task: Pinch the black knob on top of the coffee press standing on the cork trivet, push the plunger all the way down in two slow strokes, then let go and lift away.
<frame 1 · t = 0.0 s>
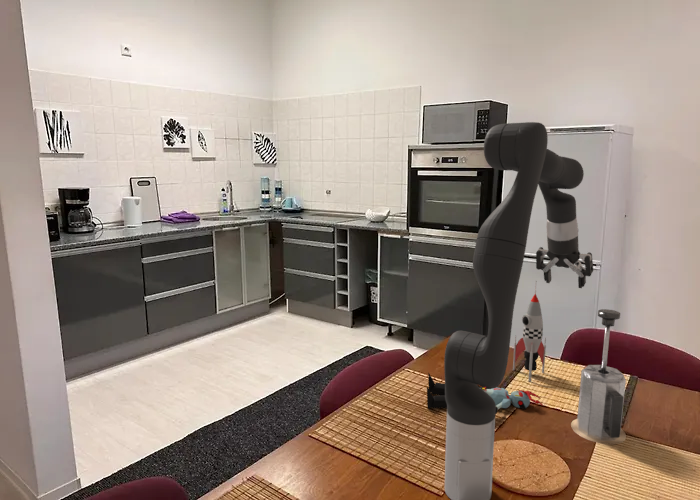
hand: (564, 284, 136), 31 cm above the table, tool tilted 20°, fingers open, 8 cm apart
toy: (482, 405, 134), on the table
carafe: (597, 430, 120), resting on trivet
plunger: (605, 349, 116), point 21 cm above the table, slide at 0.0 cm
trivet: (597, 432, 120), on the table
toy 2: (531, 374, 152), on the table
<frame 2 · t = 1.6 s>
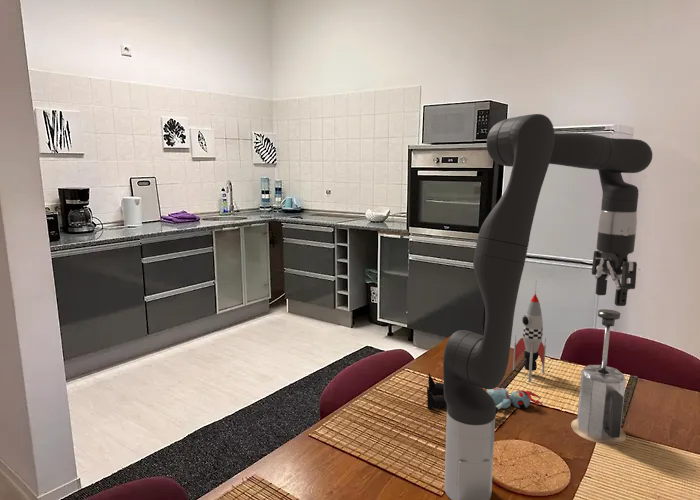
hand: (610, 300, 113), 34 cm above the table, tool pointing down, fingers open, 8 cm apart
nothing on the table moved.
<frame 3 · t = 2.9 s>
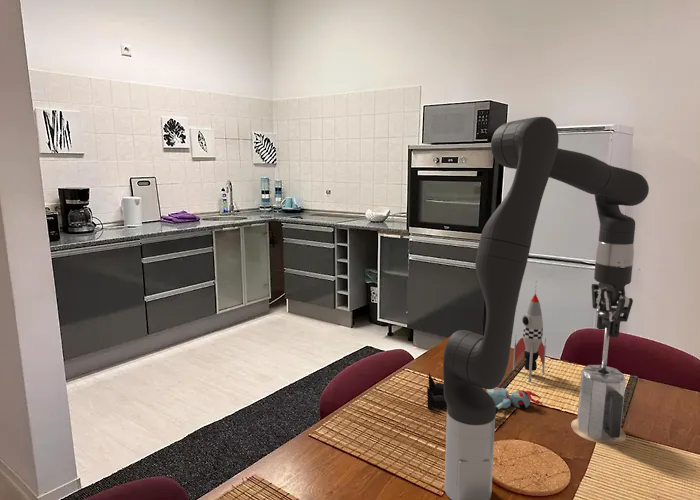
hand: (607, 332, 115), 26 cm above the table, tool pointing down, fingers closed on plunger, 4 cm apart
plunger: (605, 349, 116), point 21 cm above the table, slide at 0.0 cm, touching gripper
everything else where it was.
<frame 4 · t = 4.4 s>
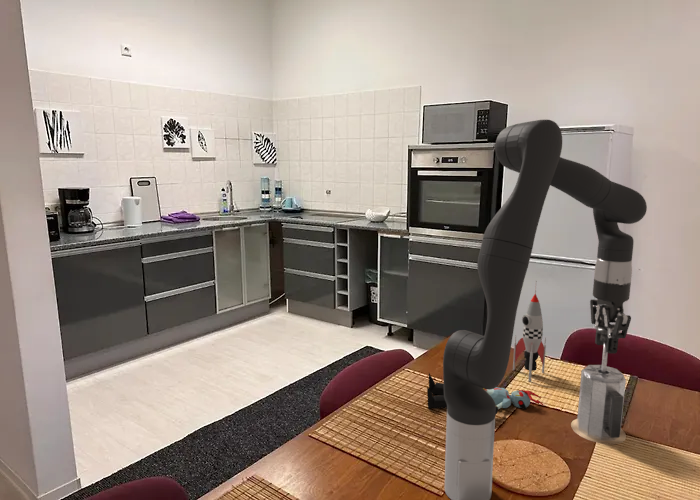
hand: (605, 348, 116), 22 cm above the table, tool pointing down, fingers closed on plunger, 4 cm apart
plunger: (604, 365, 116), point 17 cm above the table, slide at 4.0 cm, touching gripper
everything else where it was.
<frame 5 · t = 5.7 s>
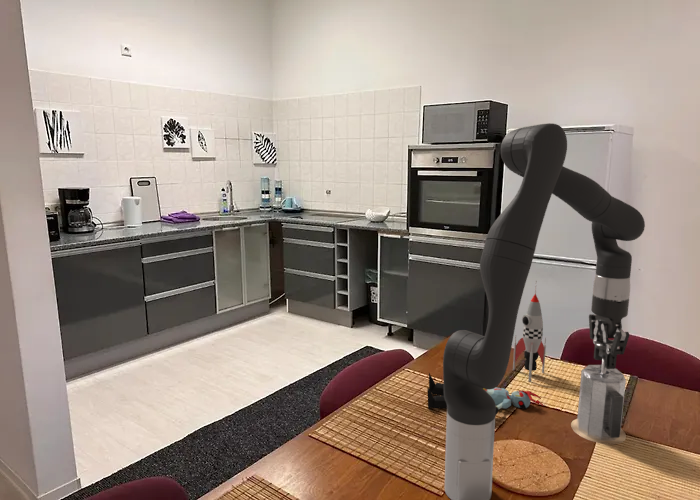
hand: (604, 363, 116), 18 cm above the table, tool pointing down, fingers closed on plunger, 4 cm apart
plunger: (602, 380, 117), point 14 cm above the table, slide at 7.8 cm, touching gripper
everything else where it was.
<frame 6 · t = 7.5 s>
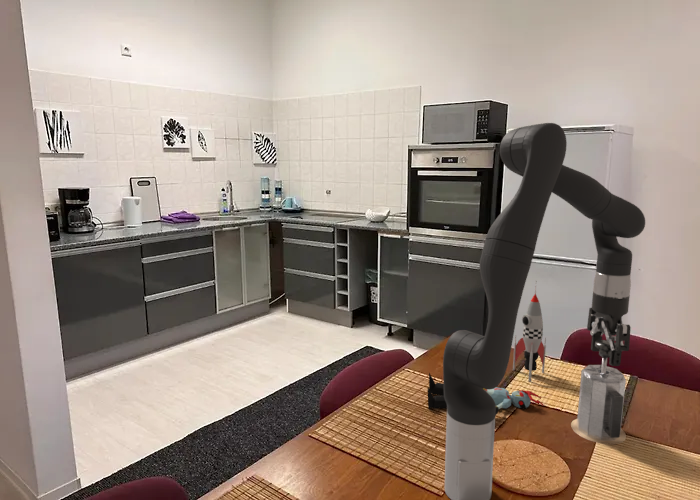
hand: (604, 357, 116), 19 cm above the table, tool pointing down, fingers open, 8 cm apart
plunger: (602, 379, 117), point 14 cm above the table, slide at 7.7 cm
everything else where it was.
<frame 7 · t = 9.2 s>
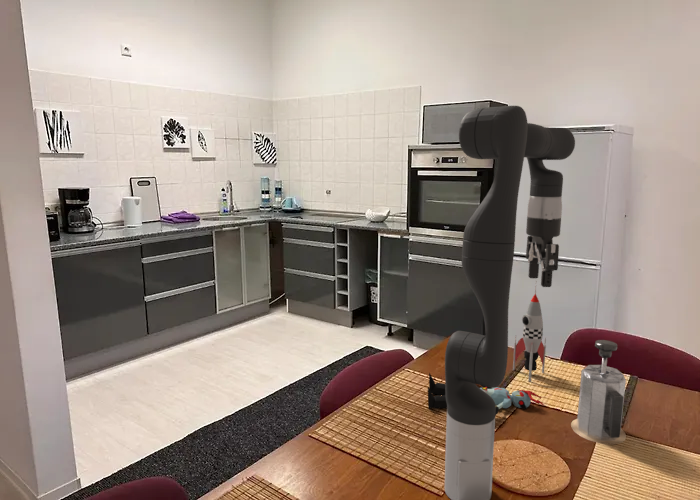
hand: (539, 282, 119), 36 cm above the table, tool pointing down, fingers open, 8 cm apart
nothing on the table moved.
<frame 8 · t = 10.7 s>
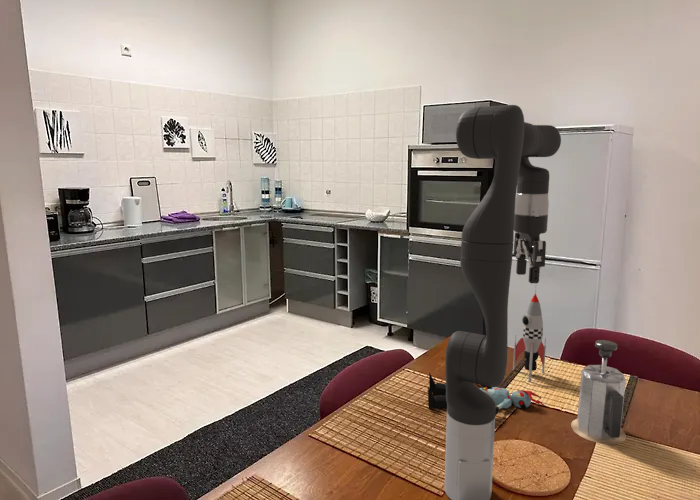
hand: (527, 278, 120), 37 cm above the table, tool pointing down, fingers open, 8 cm apart
nothing on the table moved.
at the end: plunger slide at 7.7 cm; the gripper is holding nothing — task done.
